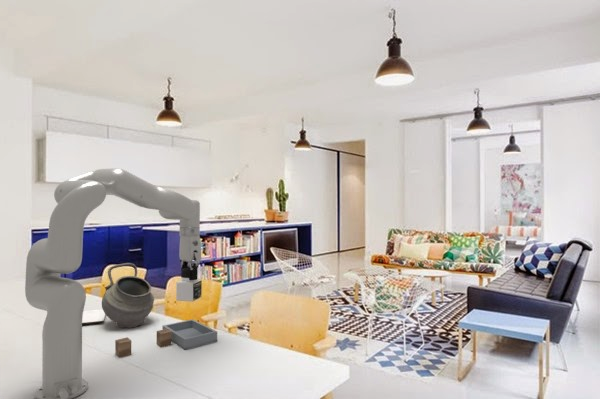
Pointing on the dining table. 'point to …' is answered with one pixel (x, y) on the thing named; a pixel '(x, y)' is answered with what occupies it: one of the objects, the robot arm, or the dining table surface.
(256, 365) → the dining table surface
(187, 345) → the tray
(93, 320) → the plate
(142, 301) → the pot
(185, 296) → the medicine bottle
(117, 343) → the left walnut block
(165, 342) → the right walnut block
